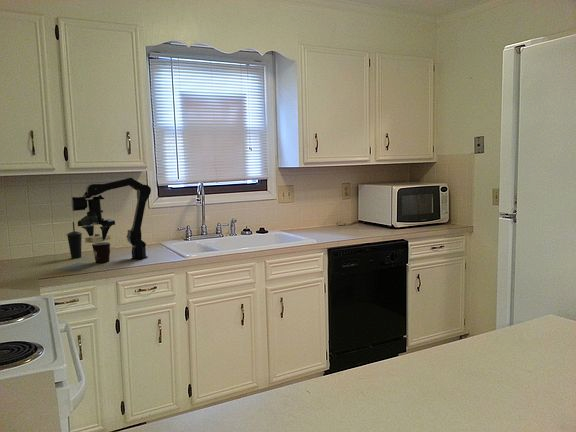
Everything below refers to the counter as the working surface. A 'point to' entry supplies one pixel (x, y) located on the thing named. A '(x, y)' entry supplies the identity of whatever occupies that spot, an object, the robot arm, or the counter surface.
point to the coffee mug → (101, 252)
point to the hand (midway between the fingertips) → (97, 239)
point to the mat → (77, 267)
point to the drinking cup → (75, 243)
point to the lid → (96, 238)
